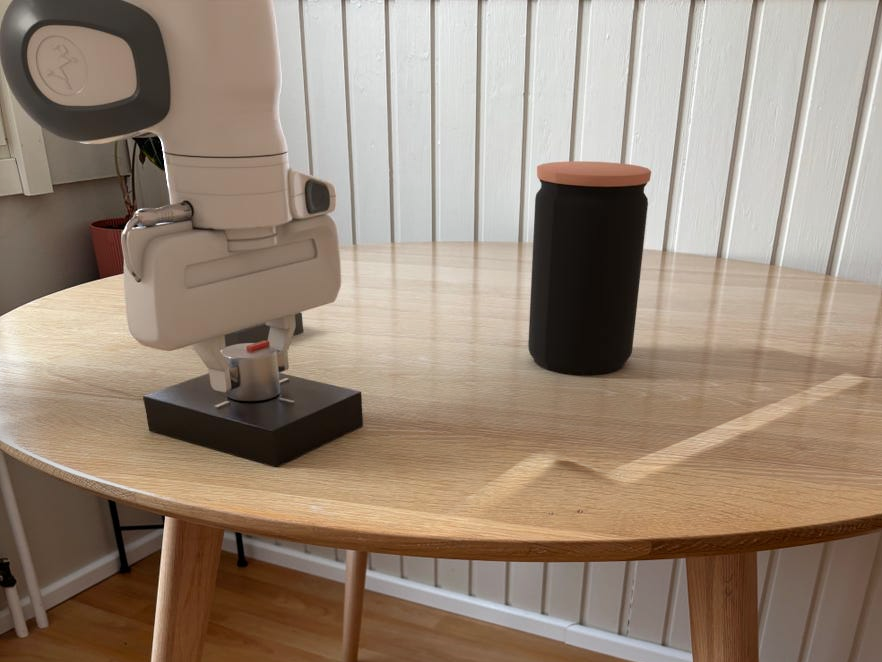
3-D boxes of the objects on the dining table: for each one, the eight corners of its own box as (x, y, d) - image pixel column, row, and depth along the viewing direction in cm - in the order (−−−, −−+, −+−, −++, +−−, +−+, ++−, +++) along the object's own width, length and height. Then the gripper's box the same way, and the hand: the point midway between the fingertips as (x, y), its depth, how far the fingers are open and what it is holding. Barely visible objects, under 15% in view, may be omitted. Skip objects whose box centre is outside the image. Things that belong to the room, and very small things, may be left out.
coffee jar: (651, 363, 97) (674, 169, 87) (584, 384, 91) (601, 178, 81) (573, 341, 103) (586, 158, 94) (505, 359, 97) (512, 166, 87)
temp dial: (254, 405, 75) (248, 357, 73) (214, 395, 77) (208, 348, 75) (291, 391, 78) (287, 345, 76) (252, 381, 80) (247, 336, 78)
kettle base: (158, 335, 102) (151, 297, 100) (223, 316, 109) (219, 280, 107) (240, 354, 97) (235, 314, 95) (303, 332, 104) (300, 295, 102)
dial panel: (148, 431, 78) (141, 393, 76) (241, 395, 86) (236, 361, 84) (276, 467, 72) (272, 428, 70) (363, 425, 80) (361, 389, 78)
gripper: (151, 217, 61) (183, 423, 68) (349, 185, 75) (358, 357, 83) (86, 207, 63) (124, 406, 71) (290, 178, 78) (303, 345, 86)
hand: (251, 379), depth 77 cm, fingers closed on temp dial, 4 cm apart
